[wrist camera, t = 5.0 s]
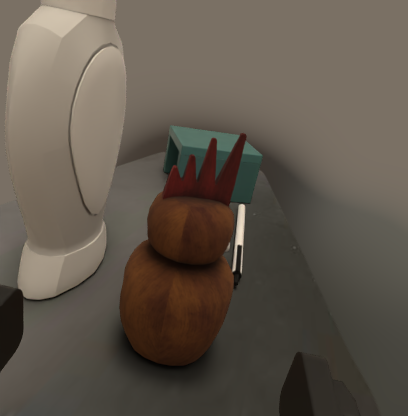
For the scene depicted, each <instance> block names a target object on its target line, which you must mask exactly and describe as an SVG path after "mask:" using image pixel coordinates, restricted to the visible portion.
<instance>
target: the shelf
mask: <svg viewBox="0 0 408 416" xmlns="http://www.w3.org/2000/svg"><path fill="white" fill-rule="evenodd" d="M212 138H216V139H217V155H216V177H215V180H216V178H217V176H218V175H219V173H220V171H221V169H222V167H223V165H224V164H225V162H226V160H227V158H228V156H229V154H230V152H231V151H232V149H233V147H234V145H235V143H236V141H237V139H238V138H239V135H233V134H227V133H219V132H212V131H206V130H199V129H192V128H185V127H178V126H170V131H169V138H168V143H167V149H166V156H165V162H164V168H163V170H164V172H166V173H170V171H171V169H172V167H173V166H174V165H176V166H177V168H178V171H179V174H180V177H181V178H182V177H183V174H184V171H185V168H186V165H187V162H188V159H189V156H190V154H194V155H195V158H196V179H197V177H198V174H199V172H200V169H201V166H202V163H203V160H204V158H205V155H206V152H207V149H208V146H209V144H210V141H211V139H212ZM262 157H263V156H262V155H261V154H260V153H259V152H258V151H257V150H255V149H254V148H253V147H252V146H251V145H250V144H249V143H247V142H246V141H245V145H244V149H243V153H242V158H241V162H240V166H239V170H238V174H237V178H236V182H235V186H234V190H233V193H232V197H231V200H230V201H231V202H243V203H250V201H251V198H252V194H253V190H254V187H255V183H256V179H257V176H258V172H259V168H260V164H261V161H262Z"/></svg>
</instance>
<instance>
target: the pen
mask: <svg viewBox="0 0 408 416" xmlns="http://www.w3.org/2000/svg"><path fill="white" fill-rule="evenodd" d="M244 220H245V205H244V203H243V202H241V203H240V205H239V206H238V216H237V227H236V237H235V247H234V257H233V267H232V273H233V275H234V285H235V286H237V285H238V280H239V279H240V278H241V275H242V256H243V238H244Z"/></svg>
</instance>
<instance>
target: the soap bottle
mask: <svg viewBox="0 0 408 416" xmlns="http://www.w3.org/2000/svg"><path fill="white" fill-rule="evenodd" d="M116 2H117V0H41V4H42V5H41V6H40V7H39V8H38V9H37V10H36V12H34V13H33V14H32V15H31V16H30V17H29V18H28V19H27V20H26V21H25V22H24V23H23V24H22V25H21V26H20V27H19V28H18V32H17V36H16V39H15V43H14V47H13V51H12V55H11V59H10V65H9V75H8V86H7V96H6V115H5V148H6V155H7V161H8V166H9V172H10V176H11V180H12V183H13V187H14V191H15V194H16V198H17V202H18V205H19V209H20V212H21V214H22V217H23V221H24V225H25V228H26V232H27V236H28V239H27V240H26V242H25V244H24V247H23V251H22V256H21V261H20V267H19V273H18V280H17V283H18V289H21V290H22V292H23V296H24V297H25V298H27V299H36V300H41V299H45V298H50V297H55V296H57V295H59V294H61V293H63V292H65V291H67V290H69V289H71V288H73V287H75V286H77V285H78V284H80V283H81V282H82V281H84V280H85V279H86V278H88V277H89V276H90V275H92V274H93V273H94V272H95V271H96V269H97V268H98V266H99V264H100V263H101V261H102V260H103V258H104V253H105V249H106V226H105V222H104V221H103V216H104V211H105V206H106V200H107V195H108V193H109V190H110V187H111V183H112V179H113V174H114V170H115V166H116V161H117V157H118V151H119V147H120V142H121V136H122V131H123V125H124V117H125V108H126V85H127V82H126V69H125V64H124V58H123V45H122V42H121V40H120V37H119V35H118V33H117V30H116V27H115V23H114V20H115V13H116ZM46 5H47V6H46ZM110 19H111V20H110Z"/></svg>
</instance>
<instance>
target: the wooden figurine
mask: <svg viewBox="0 0 408 416" xmlns="http://www.w3.org/2000/svg"><path fill="white" fill-rule="evenodd" d="M245 141H246V134H244V133H241V134H240V136H239V138H238V139H237V141H236V143H235V145H234V147H233V149H232V151H231V152H230V154H229V156H228V158H227V160H226V162H225V164H224V165H223V167H222V169H221V171H220V173H219V175H218V176H217V178H216V180H215V177H216V155H217V139H216V138H212V139H211V141H210V144H209V146H208V149H207V152H206V155H205V158H204V160H203V163H202V166H201V169H200V172H199V174H198V177H197V179H196V158H195V155H194V154H190V156H189V159H188V162H187V165H186V168H185V171H184V174H183V177H182V178H181V177H180V174H179V171H178V168H177V166H176V165H174V166H173V167H172V169H171V171H170V174H169V176H168V179H167V182H166V185H165V187H164V190H163V192H161V193H159V194H158V195H157V197H156V198H155V200H154V201H153V203H152V205H151V207H150V209H149V214H148V218H147V222H148V240H146V241H143V242H142V243H141V244H140V245H139V246H138V247H137V248H136V249H135V250H134V251H133V253H132V254H131V256H130V258H129V260H128V262H127V265H126V267H125V272H124V280H123V285H122V290H121V296H120V306H119V308H120V317H121V322H122V325H123V328H124V331H125V333H126V335H127V337H128V339H129V341H130V343H131V345H132V347H133V349H134V350H135V351H136V352H138V353H139V354H140V355H142V356H143V357H144V358H147V359H149V360H151V361H154V362H156V363H159V364H165V365H170V366H184V365H187V364H189V363H192V362H194V361H196V360H197V359H198V358H200V357H201V356H202V355H203V354H204V353H205V352H206V350H207V349H208V348H209V347H210V345H211V344H212V342H213V340H214V339H215V337H216V336H217V334H218V332H219V330H220V328H221V326H222V324H223V322H224V319H225V316H226V314H227V311H228V307H229V304H230V300H231V297H232V292H233V288H234V275H233V273H232V271H231V269H230V267H229V265H228V263H227V261H226V259H225V257H223V256H222V255H223V253H224V252H225V251H226V249H227V247H228V245H229V243H230V240H231V237H232V235H233V229H234V214H233V212H232V211H231V209H230V208H229V204H230V200H231V197H232V193H233V190H234V186H235V182H236V178H237V174H238V170H239V166H240V162H241V158H242V153H243V149H244V145H245Z"/></svg>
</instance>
